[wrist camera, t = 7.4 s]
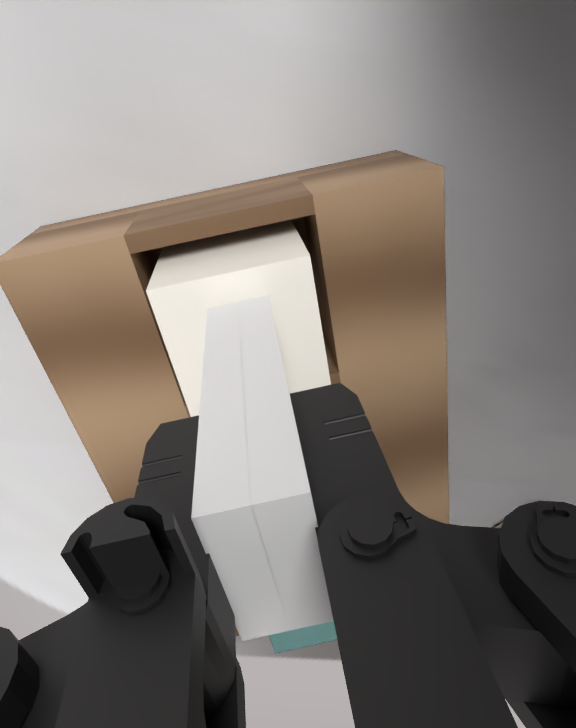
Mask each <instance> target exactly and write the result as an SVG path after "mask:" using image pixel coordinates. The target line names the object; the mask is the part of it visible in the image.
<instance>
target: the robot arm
mask: <svg viewBox="0 0 576 728" xmlns="http://www.w3.org/2000/svg"><path fill="white" fill-rule="evenodd" d="M138 483H139V485H137V487H136V492H135V496H134V498H127V499H125V500H122V501H119V502H116V503H113V504H111V505H108V506H106V507H104V508H103V509H101V510H100V511H98V512H97V513H95V514H93V515H92V516H90V517H89V518H87V519H86V520H85V521H84V522H83V523H82V524H81V525H80V526H79V527H78V528H77V529H76V530H75V531H74V532H73V533H72V535H71V536H70V538H69V539H68V541H67V543H66V545H65V547H64V548H63V550H62V552H61V556H62V557H63V559H64V560H65V562H66V563H67V565H68V566H69V568H70V569H71V571H72V573H73V574H74V576H75V577H76V579H77V580H78V582H79V583H80V585H81V586H82V588H83V589H84V591H85V592H86V594H87V596H88V597H89V599H88V602H87V603H86V604H84V605H83V606H82V607H80V608H78V609H77V610H75V611H73V612H72V613H70V614H69V615H67V616H65V617H63V618H61V619H59V620H57V621H55V622H53V623H52V624H50V625H48V626H46V627H44V628H42V629H40V630H38V631H36V632H34V633H32V634H30V635H28V636H26V637H25V638H23V639H21V640H18V639H17V638H16V637H15V636H14V634H12V632H11V631H10V630H9V629H6V628H2V627H0V728H246V721H245V720H246V719H245V694H244V693H245V692H244V681H243V676H242V672H241V667H240V665H239V663H238V661H237V658H236V646H235V626H236V628H237V630H238V633H239V635H240V638H241V640H242V641H245V640H250V639H254V638H259V637H263V636H268V635H272V634H277V633H281V632H286V631H290V630H295V629H299V628H304V627H308V626H313V625H317V624H322V623H326V622H331V621H334V625H335V630H336V635H337V640H338V645H339V650H340V655H341V660H342V664H343V670H344V675H345V679H346V684H347V689H348V694H349V699H350V704H351V709H352V714H353V719H354V723H355V728H518V727H517V725H516V723H515V720H514V718H513V716H512V714H511V712H510V709H509V707H508V705H507V703H506V701H505V699H506V700H507V702H508V703H509V704H510V706H511V707H512V708H513V710H514V711H515V713H516V714H517V716H518V717H519V718H520V720H521V721H522V722H523V724H524V725H525V727H526V728H576V506H574V505H571V504H568V503H565V502H550V501H538V502H534V503H530V504H526V505H522V506H519V507H518V508H516V509H515V510H514V511H512V512H511V513H510V514H509V515H507V516H506V517H505V519H504V521H503V523H502V526H501V528H487V527H471V526H458V525H452V524H446V523H442V522H439V521H436V520H433V519H431V518H428V517H426V516H425V515H423V514H421V513H420V512H418V511H416V510H415V509H414V508H413V507H412V506H411V505H409V504H408V503H407V502H406V501H405V499H404V498H403V496H402V495H401V493H400V491H399V489H398V487H397V485H396V483H395V480H394V478H393V476H392V473H391V471H390V469H389V467H388V464H387V462H386V460H385V457H384V455H383V453H382V451H381V448H380V446H379V444H378V441H377V439H376V437H375V435H374V432H372V428H371V425H370V423H369V421H368V419H367V416H366V415H365V412H364V409H363V407H362V405H361V403H360V400H359V398H358V396H357V395H356V394H355V393H354V392H352V391H351V390H350V389H348V388H347V387H345V386H344V385H343V384H341V383H336V384H332V385H327V386H322V387H318V388H313V389H309V390H304V391H300V392H295V393H289V388H288V384H287V379H286V374H285V370H284V365H283V361H282V356H281V351H280V347H279V342H278V338H277V333H276V328H275V324H274V319H273V315H272V310H271V306H270V301H269V296H268V295H266V296H261V297H257V298H252V299H247V300H243V301H238V302H233V303H229V304H224V305H220V306H215V307H210V308H207V320H206V333H205V346H204V359H203V372H202V385H201V398H200V411H199V415H198V416H193V417H189V418H184V419H180V420H175V421H170V422H166V423H161V424H160V425H159V427H158V428H157V429H156V431H155V432H154V433H153V435H152V436H151V437H150V439H149V440H148V442H147V443H146V447H145V451H144V456H143V460H142V468H141V469H140V474H139V478H138Z"/></svg>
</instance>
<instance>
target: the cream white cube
mask: <svg viewBox="0 0 576 728" xmlns="http://www.w3.org/2000/svg"><path fill="white" fill-rule="evenodd" d="M146 293H147V295H148V298H149V301H150V304H151V307H152V309H153V312H154V315H155V318H156V321H157V323H158V326H159V329H160V332H161V335H162V337H163V340H164V343H165V346H166V349H167V351H168V354H169V357H170V360H171V363H172V365H173V368H174V371H175V374H176V377H177V379H178V382H179V385H180V388H181V391H182V393H183V396H184V399H185V402H186V405H187V407H188V410H189V413H190V416H191V417H193V416H198V415H199V411H200V398H201V385H202V372H203V359H204V346H205V333H206V320H207V308H210V307H215V306H220V305H224V304H229V303H233V302H238V301H243V300H247V299H252V298H257V297H261V296H266V295H268V296H269V301H270V306H271V310H272V315H273V319H274V324H275V328H276V333H277V338H278V342H279V347H280V351H281V356H282V361H283V365H284V370H285V374H286V379H287V384H288V388H289V393H295V392H300V391H304V390H309V389H313V388H318V387H322V386H327V385H331V381H330V375H329V369H328V362H327V356H326V350H325V344H324V338H323V332H322V326H321V319H320V313H319V307H318V301H317V295H316V289H315V283H314V276H313V270H312V264H311V258H310V254H309V252H308V250H307V249H306V247H305V245H304V243H303V241H302V239H301V237H300V235H299V234H298V232H297V230H296V228H295V226H294V224H293V222H292V220H286V221H281V222H277V223H272V224H268V225H263V226H258V227H254V228H249V229H244V230H240V231H235V232H230V233H226V234H221V235H217V236H212V237H207V238H203V239H198V240H193V241H189V242H184V243H179V244H175V245H170V246H165V247H163V248H162V250H161V253H160V256H159V258H158V261H157V263H156V266H155V269H154V271H153V274H152V276H151V279H150V282H149V284H148V287H147V289H146Z"/></svg>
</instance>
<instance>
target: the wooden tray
mask: <svg viewBox="0 0 576 728" xmlns="http://www.w3.org/2000/svg"><path fill="white" fill-rule="evenodd" d="M286 220H292V222H293V224H294V226H295V228H296V230H297V232H298V234H299V235H300V237H301V239H302V241H303V243H304V245H305V247H306V249H307V250H308V252H309V254H310V258H311V264H312V270H313V276H314V283H315V289H316V295H317V301H318V307H319V313H320V319H321V326H322V332H323V338H324V344H325V350H326V356H327V362H328V369H329V375H330V381H331V385H332V384H336V383H341V384H343V385H344V386H345V387H347V388H348V389H350V390H351V391H352V392H354V393H355V394H356V395H357V396H358V398H359V400H360V403H361V405H362V407H363V409H364V412H365V415H366V416H367V419H368V421H369V423H370V425H371V428H372V432H374V435H375V437H376V439H377V441H378V444H379V446H380V448H381V451H382V453H383V455H384V457H385V460H386V462H387V464H388V467H389V469H390V471H391V473H392V476H393V478H394V480H395V483H396V485H397V487H398V489H399V491H400V493H401V495H402V496H403V498H404V499H405V501H406V502H407V503H408V504H409V505H411V506H412V507H413V508H414V509H415V510H416V511H418V512H420V513H421V514H423V515H425V516H426V517H428V518H431V519H433V520H436V521H439V522H442V523H446V524H449V487H448V415H447V344H446V272H445V200H444V166H441V165H438V164H435V163H432V162H429V161H426V160H423V159H420V158H417V157H414V156H411V155H408V154H405V153H402V152H400V151H397V150H395V151H390V152H386V153H381V154H376V155H372V156H367V157H362V158H358V159H353V160H348V161H344V162H339V163H334V164H330V165H325V166H320V167H316V168H311V169H306V170H302V171H297V172H292V173H288V174H283V175H278V176H274V177H269V178H264V179H260V180H255V181H250V182H246V183H241V184H236V185H232V186H227V187H223V188H218V189H213V190H209V191H204V192H199V193H195V194H190V195H185V196H181V197H176V198H171V199H167V200H162V201H157V202H153V203H148V204H143V205H139V206H134V207H129V208H125V209H120V210H115V211H111V212H106V213H101V214H97V215H92V216H87V217H83V218H78V219H73V220H69V221H64V222H59V223H55V224H50V225H45V226H41V227H39V228H38V229H37V230H35V231H34V232H33V233H31V234H30V235H29V236H27V237H26V238H25V239H23V240H22V241H21V242H19V243H18V244H16V245H15V246H14V247H12V248H11V249H10V250H8V251H7V252H6V253H4V254H3V255H2V256H0V285H1V287H2V289H3V291H4V293H5V294H6V296H7V298H8V300H9V302H10V304H11V306H12V308H13V310H14V312H15V314H16V316H17V318H18V320H19V321H20V323H21V325H22V327H23V329H24V331H25V333H26V335H27V337H28V339H29V341H30V343H31V345H32V346H33V348H34V350H35V352H36V354H37V356H38V358H39V360H40V362H41V364H42V366H43V368H44V370H45V371H46V373H47V375H48V377H49V379H50V381H51V383H52V385H53V387H54V389H55V391H56V393H57V395H58V396H59V398H60V400H61V402H62V404H63V406H64V408H65V410H66V412H67V414H68V416H69V418H70V420H71V421H72V423H73V425H74V427H75V429H76V431H77V433H78V435H79V437H80V439H81V441H82V443H83V445H84V447H85V448H86V450H87V452H88V454H89V456H90V458H91V460H92V462H93V464H94V466H95V468H96V470H97V472H98V473H99V475H100V477H101V479H102V481H103V483H104V485H105V487H106V489H107V491H108V493H109V495H110V497H111V498H112V500H113V502H114V503H116V502H119V501H122V500H125V499H127V498H134V496H135V492H136V487H137V485H139V483H138V478H139V474H140V469H141V468H142V460H143V456H144V451H145V447H146V443H147V442H148V440H149V439H150V437H151V436H152V435H153V433H154V432H155V431H156V429H157V428H158V427H159V425H160V424H161V423H166V422H170V421H175V420H180V419H184V418H189V417H191V416H190V413H189V410H188V407H187V405H186V402H185V399H184V396H183V393H182V391H181V388H180V385H179V382H178V379H177V377H176V374H175V371H174V368H173V365H172V363H171V360H170V357H169V354H168V351H167V349H166V346H165V343H164V340H163V337H162V335H161V332H160V329H159V326H158V323H157V321H156V318H155V315H154V312H153V309H152V307H151V304H150V301H149V298H148V295H147V293H146V289H147V287H148V284H149V282H150V279H151V276H152V274H153V271H154V269H155V266H156V263H157V261H158V258H159V256H160V253H161V250H162V248H163V247H165V246H170V245H175V244H179V243H184V242H189V241H193V240H198V239H203V238H207V237H212V236H217V235H221V234H226V233H230V232H235V231H240V230H244V229H249V228H254V227H258V226H263V225H268V224H272V223H277V222H281V221H286ZM235 636H239V633H238V630H237V628H236V626H235Z"/></svg>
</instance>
